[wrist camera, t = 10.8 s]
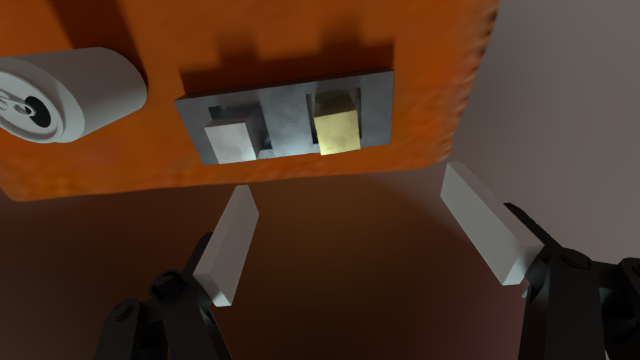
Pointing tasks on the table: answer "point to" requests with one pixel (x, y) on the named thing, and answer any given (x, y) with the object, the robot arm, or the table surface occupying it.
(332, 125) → the brass block
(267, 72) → the table surface
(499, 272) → the robot arm
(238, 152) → the silver metal block
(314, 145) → the grey flat rectangular board
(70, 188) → the table surface
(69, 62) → the can
